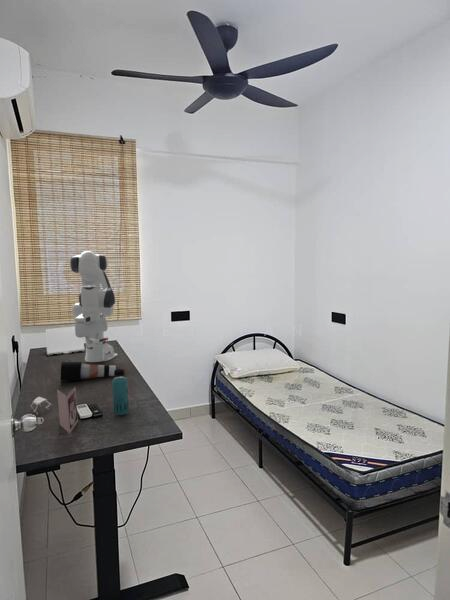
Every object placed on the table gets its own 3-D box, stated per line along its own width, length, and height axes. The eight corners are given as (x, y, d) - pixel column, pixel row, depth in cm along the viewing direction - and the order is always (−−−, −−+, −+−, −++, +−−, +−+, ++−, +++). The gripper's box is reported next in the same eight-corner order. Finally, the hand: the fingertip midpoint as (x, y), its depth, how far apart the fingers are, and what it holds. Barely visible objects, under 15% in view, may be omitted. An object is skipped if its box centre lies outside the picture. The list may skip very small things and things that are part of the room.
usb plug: (84, 346, 210) (83, 339, 210) (89, 344, 214) (88, 338, 213) (99, 347, 206) (98, 340, 206) (103, 346, 210) (103, 339, 209)
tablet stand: (47, 351, 295) (45, 328, 293) (83, 347, 305) (81, 325, 303) (47, 356, 279) (45, 332, 277) (85, 352, 288) (83, 329, 287)
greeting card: (71, 433, 155) (69, 396, 153) (52, 434, 155) (49, 397, 153) (80, 421, 166) (77, 386, 165) (61, 422, 166) (58, 387, 164)
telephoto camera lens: (124, 383, 229) (126, 370, 224) (60, 384, 219) (60, 370, 213) (124, 371, 237) (125, 358, 232) (62, 371, 227) (62, 358, 222)
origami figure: (53, 411, 179) (53, 400, 178) (33, 416, 174) (32, 405, 173) (47, 403, 188) (46, 393, 188) (28, 408, 183) (27, 397, 183)
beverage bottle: (115, 419, 167) (112, 373, 165) (112, 414, 173) (109, 368, 171) (130, 416, 170) (128, 370, 167) (128, 411, 176) (125, 366, 174)
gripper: (100, 313, 219) (101, 338, 221) (72, 319, 201) (74, 346, 202) (109, 313, 217) (111, 338, 218) (81, 319, 198) (83, 347, 200)
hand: (93, 342), depth 210 cm, fingers closed on usb plug, 4 cm apart
